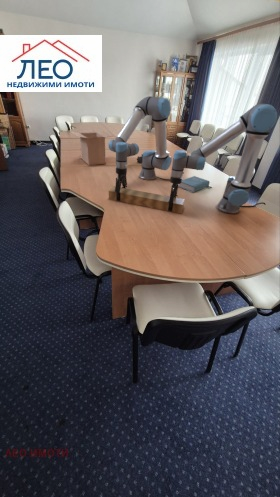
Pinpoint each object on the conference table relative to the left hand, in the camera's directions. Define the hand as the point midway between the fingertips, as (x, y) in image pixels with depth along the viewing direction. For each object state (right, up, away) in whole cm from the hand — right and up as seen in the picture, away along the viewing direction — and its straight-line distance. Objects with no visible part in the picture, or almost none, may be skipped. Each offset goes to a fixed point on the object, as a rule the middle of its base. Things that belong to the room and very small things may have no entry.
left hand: (121, 198), depth 164 cm
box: (-36, +56, +73) cm, 99 cm away
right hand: (+36, -9, -8) cm, 38 cm away
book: (+61, +16, +29) cm, 70 cm away
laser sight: (+22, +56, +79) cm, 99 cm away
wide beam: (+18, -5, -4) cm, 19 cm away
